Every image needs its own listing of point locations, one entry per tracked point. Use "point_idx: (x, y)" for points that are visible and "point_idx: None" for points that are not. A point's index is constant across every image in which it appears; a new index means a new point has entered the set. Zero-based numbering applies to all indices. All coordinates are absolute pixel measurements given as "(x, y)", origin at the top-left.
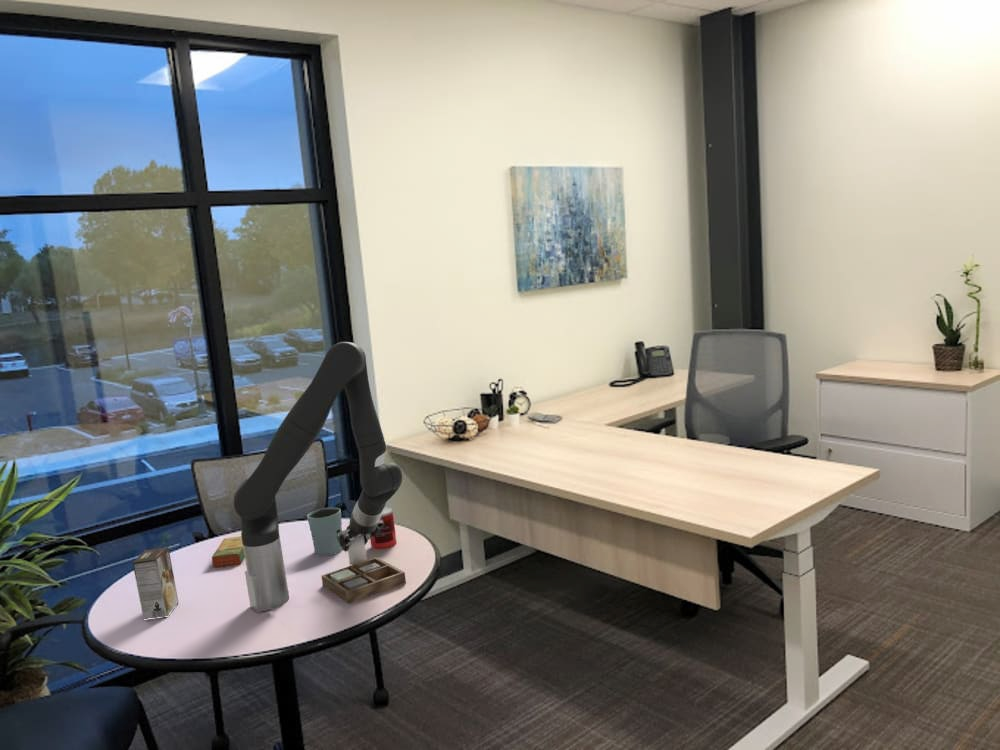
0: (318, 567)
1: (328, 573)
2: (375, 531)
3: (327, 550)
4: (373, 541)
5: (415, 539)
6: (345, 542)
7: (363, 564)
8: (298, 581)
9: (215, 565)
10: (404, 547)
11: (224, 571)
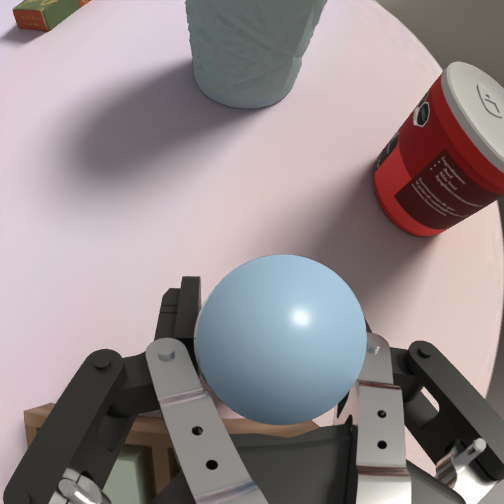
0: (131, 178)
1: None
2: (417, 430)
3: (218, 91)
4: (391, 183)
5: (491, 231)
6: (147, 411)
7: None
8: (22, 252)
9: (19, 24)
10: (457, 268)
11: (12, 48)
